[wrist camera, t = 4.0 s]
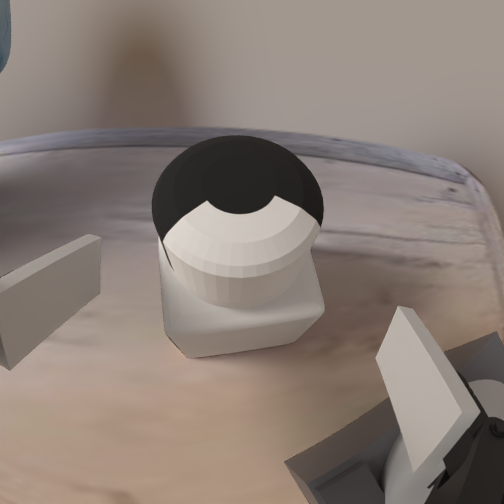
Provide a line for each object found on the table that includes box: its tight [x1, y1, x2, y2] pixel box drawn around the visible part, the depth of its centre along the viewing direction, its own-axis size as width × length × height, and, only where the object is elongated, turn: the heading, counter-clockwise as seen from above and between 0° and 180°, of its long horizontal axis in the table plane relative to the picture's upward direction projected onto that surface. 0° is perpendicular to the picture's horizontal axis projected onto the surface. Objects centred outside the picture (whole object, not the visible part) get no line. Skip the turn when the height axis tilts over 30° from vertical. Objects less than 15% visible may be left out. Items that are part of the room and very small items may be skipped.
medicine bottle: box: [152, 136, 325, 358], centre depth 16 cm, size 7×7×12 cm
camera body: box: [284, 331, 504, 504], centre depth 13 cm, size 10×14×8 cm
